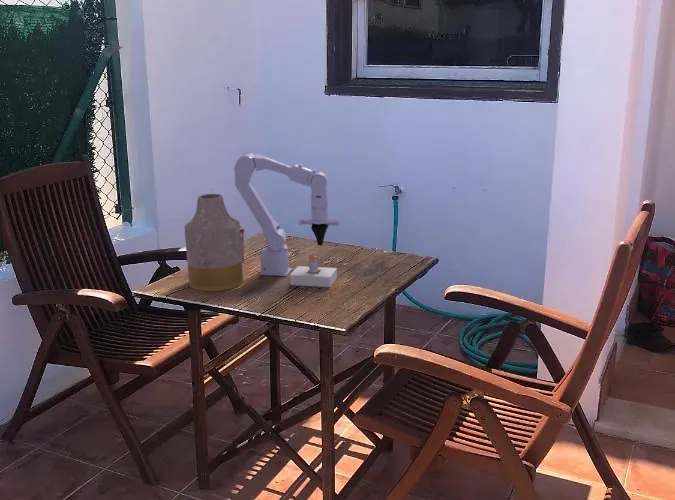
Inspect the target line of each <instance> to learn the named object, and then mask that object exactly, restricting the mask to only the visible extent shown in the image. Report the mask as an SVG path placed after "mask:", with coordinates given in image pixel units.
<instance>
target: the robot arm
mask: <svg viewBox="0 0 675 500" xmlns="http://www.w3.org/2000/svg"><path fill="white" fill-rule="evenodd" d="M233 169H234V186H235V188H236V189H237V191H238V193H239V194H240V195H241V198H242V199H243V200H244V202H245V204H246V206H248V208H249V211H250V212H251V213H252V214H253V217H254V218H255V220H256V222H258V224H259V226H260V228H261V230H262V233H263V236H264V238H265V240H266V241H265V242H266V245H267V247H263V248H261V251H260V256H259V257H260V276H261V275H262V276H273V277H274V276H278V277H287V276H288V274H290V272H291V271H292V270H293V268H292V267H289V252H288V246H287V244H286V240H287V238H288V234H287V231H286V229H284V228H283V227H281V226H280V225H279V223H278V222H277V221H276V220H274V218H273V216H272V215H271V213H270V212H269V210H268V209H267V207H266V205H265V204H264V202H263V201H262V199H261V197H260V196H259V194H258V192H257V191H256V189H255V188H254V186H253V184H252V183H251V180H252V177H253V173H254V172H259V171H262V170H263V171H264V170H268V171H272V172H274V173H275V172H276V173H279V174H282V175H285V176H287V178H289V180H290V181H292V182H294V183H297V184H300V185H302V186H303V185H304V186H306V187H310V189H311V194H310V208H311V210H310V211H311V212H310V214H311V215H310V216H311V217H301V218H299V219H298V225H299V226H301V225H309V226H310V225H311V227H310V228H311V231H312V232H313V235H314V236H315V240H316V242H317V246H322V245H324V239H325V236H326V232H327V230H328V228H329V226H336V227H340V226H341V224H342V223H341V222H342V221H341V219H339V218H338V219H337V218H331V217H330V218H329V213H328V212H329V211H328V210H329V209H328V208H329V207H328V203H329V202H328V188H327V186H328V177H327V175H326V173H325V172H322V171H320V170H316V169H309V168H307V167H304V166H303V164H301V163H299V164H294V165H288V164H285V163H283V162H280V161H277V160H276V159H273V158H269V157H267V156H264V155H262V154H259V153H254V152H252V151H251V152H250V151H245V152H244V153H243V154H242V155H241V157H239V158H238V159H237V160H236V163H235V165H234V167H233Z"/></svg>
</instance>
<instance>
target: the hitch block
mask: <svg viewBox="0 0 675 500" xmlns="http://www.w3.org/2000/svg"><path fill="white" fill-rule="evenodd" d="M289 274H290V275H289V283H290V284H289V285H290V286H305V287H320V288H322V287H323V288H331V287H332V286H333V285H334V283H335V282H336V280H337V279H338V268H337V267H322V266H320V267H319V266H318V274H312V273H309V266H305V265H304V266H303V265H302V266H300V265H298V266H296V268H295V269H294V270H293V271H292V272H291V273H289Z"/></svg>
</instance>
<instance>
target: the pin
mask: <svg viewBox="0 0 675 500" xmlns="http://www.w3.org/2000/svg"><path fill="white" fill-rule="evenodd" d="M318 258H319V257H318V255H316V254H314V255H313V254H312V255H309V256H308V267H309V273H312V274H318V267H319V265H318V264H319V263H318Z"/></svg>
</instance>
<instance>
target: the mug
mask: <svg viewBox="0 0 675 500" xmlns="http://www.w3.org/2000/svg"><path fill="white" fill-rule="evenodd" d="M245 228H246V227H245V226H244V225H243V224H240V237H241V254H242V264H244V262H245Z"/></svg>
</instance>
